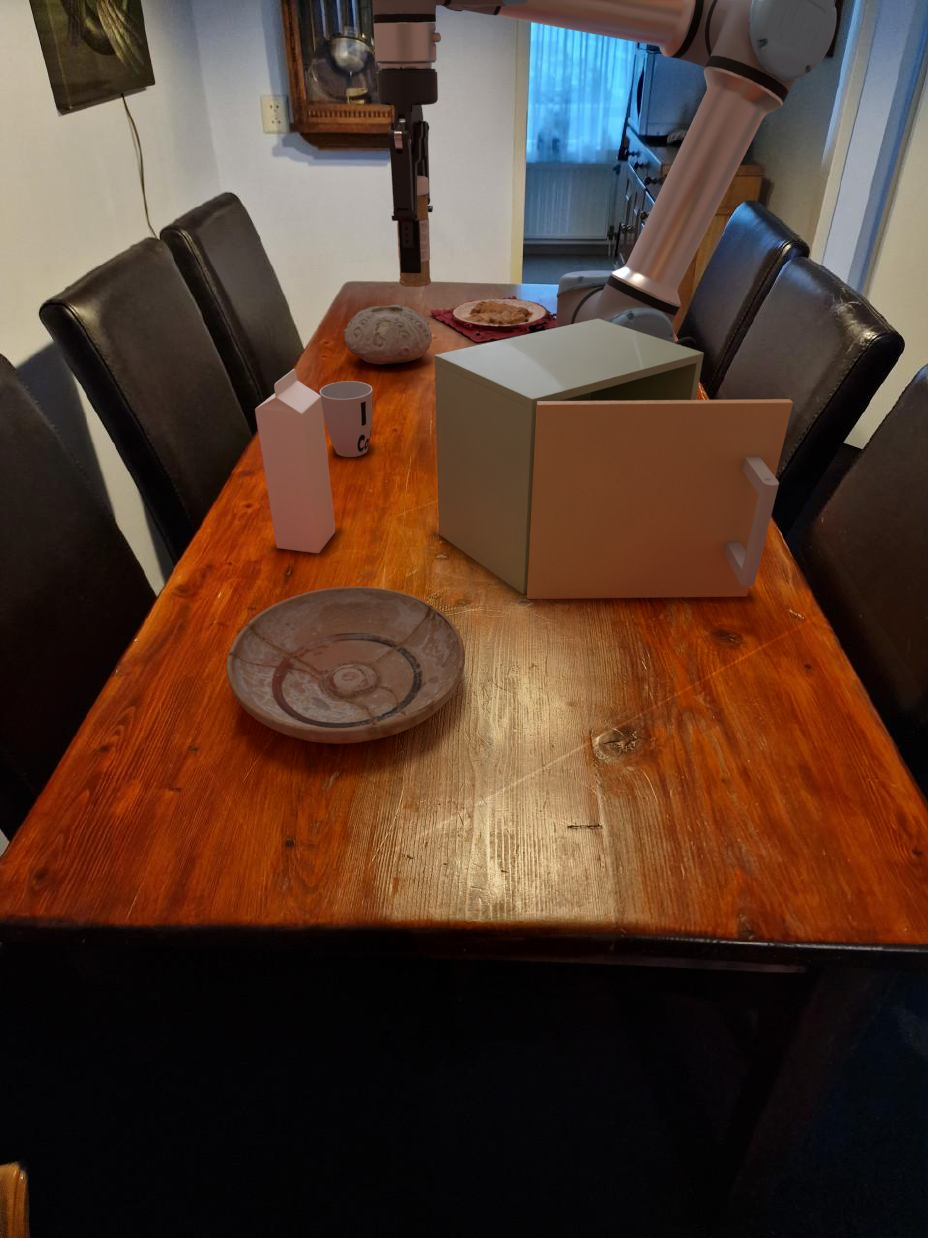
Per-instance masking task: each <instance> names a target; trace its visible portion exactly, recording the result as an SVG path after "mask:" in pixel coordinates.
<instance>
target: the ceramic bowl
mask: <svg viewBox="0 0 928 1238" xmlns="http://www.w3.org/2000/svg"><path fill="white" fill-rule="evenodd" d="M465 663H466V651H465V646H464V642H463V638H462V636H461V633H460V632H459V630H458V628H457V627H456V625H455V624H454V623H453V621H452V620H451V619H450V617H448V616H447V615H446V614H445V613H443V612H442V611H441V610H439V609H438V608H437V607H435V606H433V605H432V604H430V603H429V602H427V601H425V600H423V599H421V598H418V597H417V596H414V595H411V594H408V593H405V592H401V591H398V590H393V589H389V588H382V587H375V586H352V585H351V586H338V587H328V588H321V589H316V590H312V591H307V592H303V593H300V594H297V595H294V596H291V597H288V598H285V599H283V600H281V601H279V602H276V603H274V604H271V606H269V607H267V608H265V609H263V610H262V611H261V612H259V613H258V614H256V615H255V616H254V617H253V618H252V619H250V620H249V621H248V622H247V623H246V624H245V625H244V627H243V628H241V630H240V631H239V632H238V634H237V635H236V637H235V639H234V640H233V642H232V644H231V646H230V648H229V651H228V654H227V659H226V675H227V682H228V684H229V687H230V689H231V692H232V694H233V695H234V698H235V699H236V701H237V702H238V703H239V705H240V706H241V707H242V709H244V711H245V712H246V713H248V714H249V715H250V717H252V718H254V719H255V720H256V721H258V722H259V723H261V724H262V725H264V726H266V727H267V728H268V729H271V730H273V731H275V732H278V733H280V734H282V735H285V736H288V737H290V738H295V739H299V740H303V741H308V742H312V743H322V744H323V743H324V744H354V743H362V742H363V743H364V742H368V741H369V742H370V741H373V740H378V739H383V738H386V737H391V736H393V735H397V734H401V733H402V732H404V731H407V730H409V729H412V728H413V727H415V726H418V725H420V724H421V723H423V722H424V721H426V720H427V719H429V718H430V717H432V716H433V715H435V714H436V713H437V712H438V711H439V710H440V709H441V708H442V707H443V706H444V705H445V704H446V703H448V701H449V700H450V699H451V697H452V696H453V694H454V693H455V692H456V690H457V688H458V687H459V684H460V682H461V680H462V676H463V673H464V669H465V665H466V664H465Z"/></svg>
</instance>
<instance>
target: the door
mask: <svg viewBox="0 0 928 1238" xmlns="http://www.w3.org/2000/svg"><path fill="white" fill-rule="evenodd" d="M793 405H794V402H793V401H792V400H791V399H790V398H785V399H784V398H779V399H778V398H776V399H775V398H774V399H773V398H772V399H771V398H770V399H769V398H768V399H765V398H763V399H760V398H759V399H756V398H755V399H696V400H638V401H537V406H536V426H535V445H534V465H533V485H532V505H531V525H530V544H529V564H528V584H527V593H526V597H527V599H528V600H549V599H550V600H556V599H557V600H561V599H566V600H567V599H569V600H571V599H574V600H575V599H644V598H645V599H646V598H647V599H648V598H649V599H650V598H652V599H653V598H654V599H655V598H657V599H658V598H733V597H734V598H739V597H741V598H743V597H744V598H745V597H748V593H749V589H750V588H751V587H754V586H755V584H756V580H757V575H758V572H759V567H760V564H761V559H762V556H763V552H764V547H765V543H766V539H767V535H768V531H769V526H770V523H771V517H772V513H773V510H774V506H775V502H776V501H775V500H776V497H777V493H778V489H779V485H780V482H779V480H778V479H777V478H776V476H777V472H778V468H779V464H780V460H781V456H782V455H781V454H782V451H783V450H782V449H783V448H784V447H783V446H784V442H785V439H786V435H787V429H788V426H789V421H790V417H791V413H792V408H793Z"/></svg>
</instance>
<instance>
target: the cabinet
mask: <svg viewBox="0 0 928 1238" xmlns="http://www.w3.org/2000/svg"><path fill="white" fill-rule="evenodd" d="M704 355H705V353H704V352H702V351H699V350H697V349H693V348H691V347H687V346H684V345H682V344H680V345H678V344H675V343H672V342H669V341H666V340H663V339H659V338H656V337H653V336H650V335H647V334H644V333H641V332H638V331H635V330H632V329H629V328H626V327H622V326H619V325H616V324H613V323H610V322H607V321H604V320H601V319H594V320H589V321H585V322H580V323H576V324H571V325H567V326H562V327H558V328H556V327H553V328H550V329H545V330H540V331H536V332H531V333H526V334H523V335H516V336H512V337H507V338H503V339H498V340H495V341H491V342H490V341H489V342H486V343H481V344H477V345H472V346H469V347H464V348H458V349H455V350H450V351H445V352H442V353H436V354H434V385H435V386H434V388H435V390H434V391H435V394H434V395H435V434H436V437H435V438H436V473H437V478H436V479H437V516H438V519H437V520H438V535H439V536H440V537H442V538H443V539H444V540H446V541H448V542H449V543H450V544H452V545H453V546H455V547H456V548H457V549H459V550H460V551H462V552H463V553H464V554H466V555H467V556H469V557H470V558H471V559H473V560H474V561H476V562H477V563H478V564H480V565H481V566H482V567H484V568H485V569H487V570H488V571H490V572H491V573H492V574H494V575H495V576H497V577H498V578H499V579H501V580H502V581H504V582H505V583H506V584H508V585H509V586H511V587H512V588H513V589H515V590H516V591H517V592H519V593H520V594H522V595H525V594H527V584H528V564H529V544H530V525H531V505H532V485H533V465H534V445H535V426H536V406H537V401H638V400H697V397H698V390H699V385H700V379H701V372H702V366H703V361H704Z"/></svg>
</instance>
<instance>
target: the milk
mask: <svg viewBox="0 0 928 1238" xmlns="http://www.w3.org/2000/svg"><path fill="white" fill-rule="evenodd" d="M297 375H298V374H297V370H296V368H293V369H291V370H290V371H289V372H288V373H287V374H285V375H283V376H282V377H281V378H280V379H279V380H277V381H276V382H275V383H274V385H273V387H274V388H273V389H274V393H273V394H271V395H270V396H269V397H268V398H267V399H265V401H263V402H262V403H260V404H259V405H258V406H257V407H256V408H254V411H255V412H254V414H255V420H256V425H257V432H258V439H259V444H260V451H261V457H262V463H263V470H264V477H265V482H266V489H267V495H268V496H267V497H268V502H269V508H270V515H271V521H272V526H273V533H274V540H275V546H276V547H275V548H277V549H279V550H280V549H282V550H288V551H295V552H296V551H297V552H304V553H312V554H320V553H321V552H322V550H323V549H324V548H325V547H326V545H327V543H328V542H329V541H330V539H331V538H332V537H333V536H334V535H335V533H336V523H335V513H334V504H333V494H332V486H331V484H332V483H331V476H330V467H329V457H328V448H327V447H328V446H327V439H326V430H325V419H324V414H323V409H322V400H321V396H320V393H319V394H318V393H317V392H316V391H314V390H313V389H311V388H310V387H308V386H306V385H305V384H304V383H302V382H301V381H299V380H298V377H297Z"/></svg>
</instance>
